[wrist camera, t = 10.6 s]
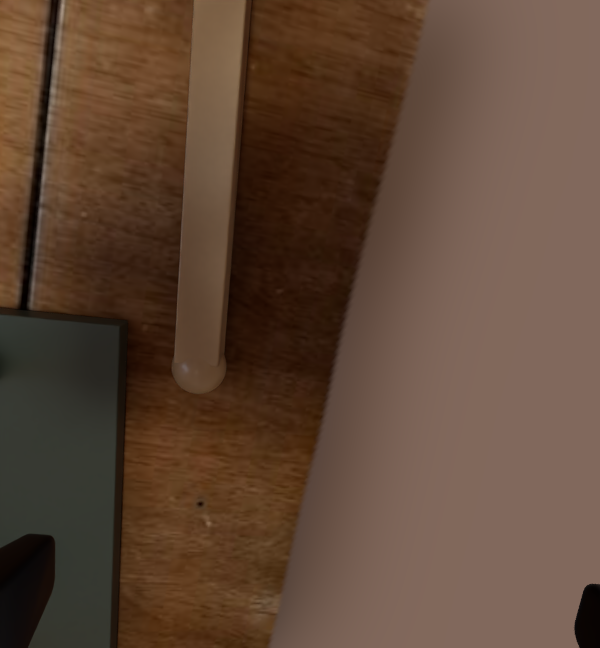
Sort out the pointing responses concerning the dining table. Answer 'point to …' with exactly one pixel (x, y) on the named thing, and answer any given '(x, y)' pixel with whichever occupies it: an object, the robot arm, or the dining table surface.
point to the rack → (66, 462)
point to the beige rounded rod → (210, 190)
